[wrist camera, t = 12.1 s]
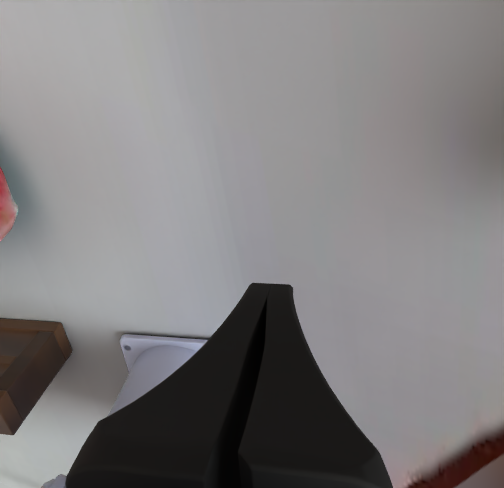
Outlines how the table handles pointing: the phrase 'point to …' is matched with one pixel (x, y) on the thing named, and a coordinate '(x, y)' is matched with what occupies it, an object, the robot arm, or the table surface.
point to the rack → (27, 366)
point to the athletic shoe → (6, 207)
